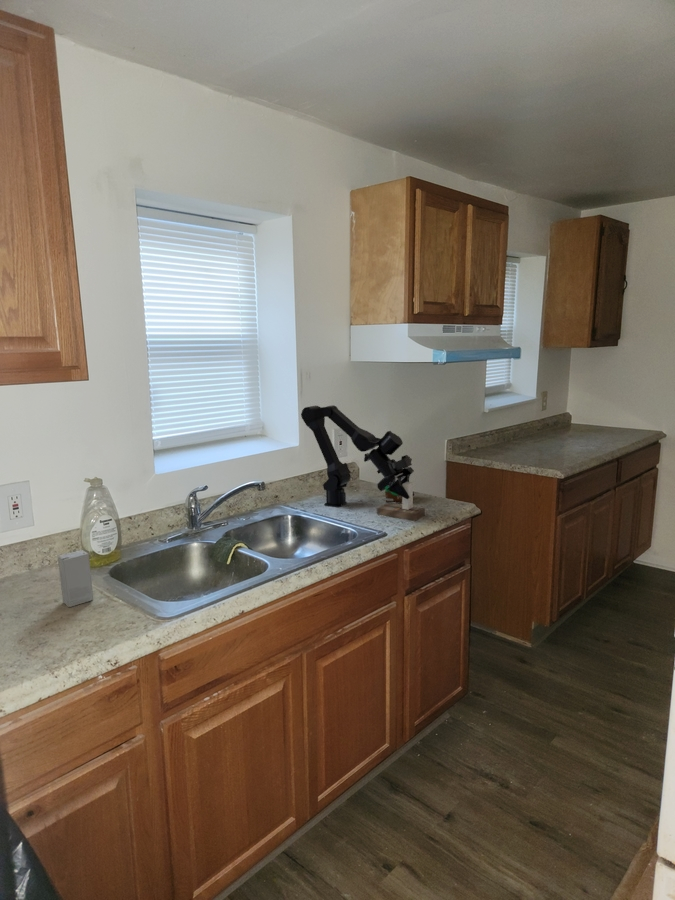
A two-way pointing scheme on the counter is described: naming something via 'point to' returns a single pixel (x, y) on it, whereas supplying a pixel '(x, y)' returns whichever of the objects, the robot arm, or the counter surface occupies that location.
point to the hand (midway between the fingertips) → (411, 497)
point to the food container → (392, 496)
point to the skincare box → (75, 578)
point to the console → (400, 511)
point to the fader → (409, 502)
